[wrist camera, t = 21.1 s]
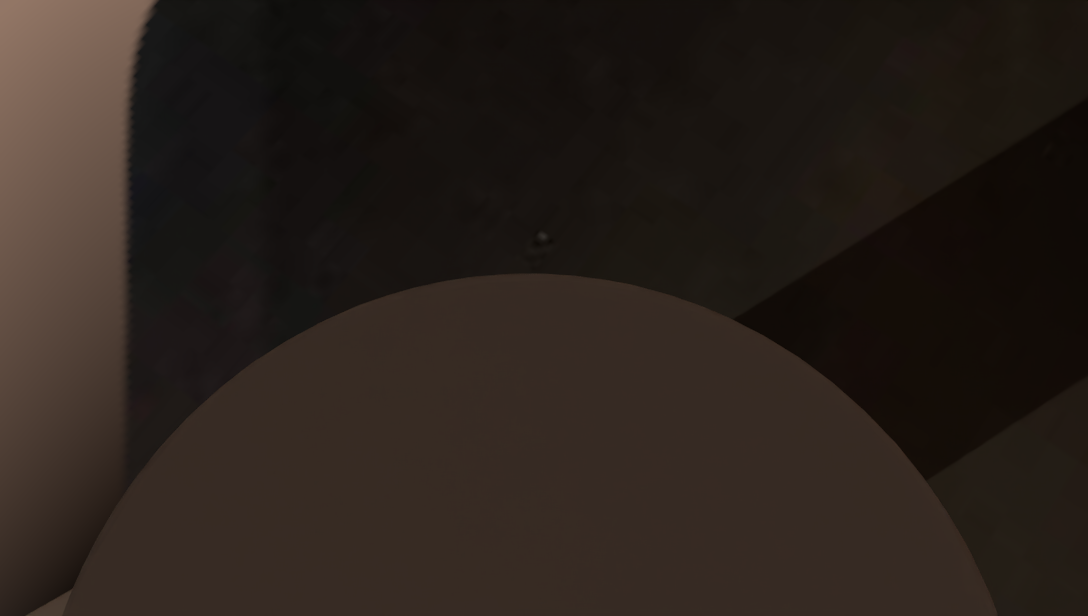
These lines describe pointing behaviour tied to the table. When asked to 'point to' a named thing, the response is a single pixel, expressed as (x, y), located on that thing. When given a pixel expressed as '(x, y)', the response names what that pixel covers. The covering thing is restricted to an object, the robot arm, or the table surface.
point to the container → (529, 474)
